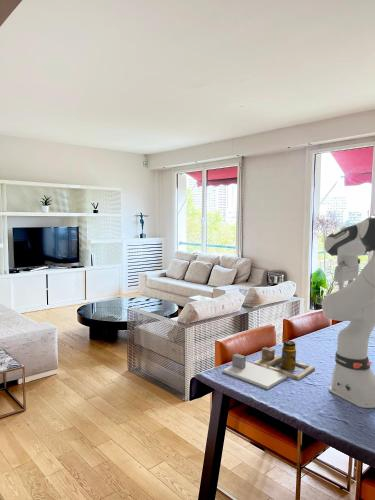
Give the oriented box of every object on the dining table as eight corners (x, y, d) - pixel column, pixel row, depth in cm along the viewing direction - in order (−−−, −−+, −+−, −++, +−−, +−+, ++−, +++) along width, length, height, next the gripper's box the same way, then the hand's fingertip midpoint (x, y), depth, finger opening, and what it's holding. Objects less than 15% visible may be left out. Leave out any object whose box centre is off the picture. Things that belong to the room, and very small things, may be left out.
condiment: (298, 370, 170) (300, 344, 168) (281, 372, 168) (282, 345, 167) (291, 364, 177) (292, 339, 176) (274, 365, 175) (275, 340, 174)
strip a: (314, 369, 171) (315, 356, 170) (298, 379, 160) (299, 365, 159) (270, 356, 186) (271, 343, 185) (253, 364, 175) (253, 351, 175)
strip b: (286, 378, 161) (287, 363, 161) (267, 389, 151) (268, 374, 150) (243, 362, 177) (243, 349, 176) (222, 372, 166) (223, 358, 165)
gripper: (345, 263, 170) (343, 293, 172) (361, 259, 185) (360, 287, 186) (331, 261, 175) (329, 291, 176) (348, 258, 189) (346, 285, 191)
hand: (345, 289), depth 181 cm, fingers open, 8 cm apart
